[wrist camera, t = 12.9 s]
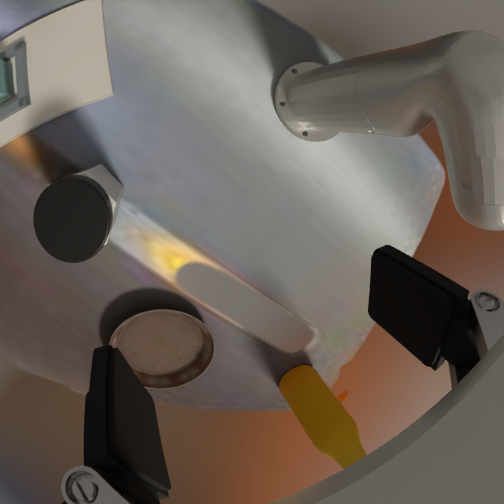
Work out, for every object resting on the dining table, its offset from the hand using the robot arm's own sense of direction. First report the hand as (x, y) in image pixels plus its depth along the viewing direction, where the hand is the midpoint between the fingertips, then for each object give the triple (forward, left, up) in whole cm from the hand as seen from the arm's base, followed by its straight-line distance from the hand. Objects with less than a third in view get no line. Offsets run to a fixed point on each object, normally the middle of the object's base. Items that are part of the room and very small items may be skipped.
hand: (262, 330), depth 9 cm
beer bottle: (-13, +47, -31) cm, 58 cm away
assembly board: (+16, -22, -30) cm, 41 cm away
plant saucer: (+10, +24, -31) cm, 40 cm away
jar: (+11, -2, -31) cm, 32 cm away
